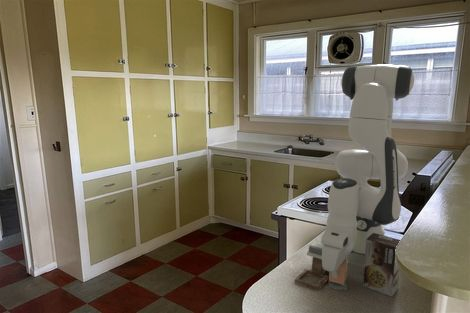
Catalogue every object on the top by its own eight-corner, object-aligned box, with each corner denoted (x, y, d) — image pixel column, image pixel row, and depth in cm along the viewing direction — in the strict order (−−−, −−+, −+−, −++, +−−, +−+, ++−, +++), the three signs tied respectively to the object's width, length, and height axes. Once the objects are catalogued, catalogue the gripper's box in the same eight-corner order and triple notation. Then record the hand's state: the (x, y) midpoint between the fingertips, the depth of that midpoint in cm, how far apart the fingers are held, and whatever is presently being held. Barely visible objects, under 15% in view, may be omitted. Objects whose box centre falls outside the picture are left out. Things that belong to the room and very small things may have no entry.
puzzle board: (316, 260, 123) (317, 245, 121) (337, 266, 118) (338, 251, 117) (294, 282, 108) (295, 265, 107) (318, 290, 104) (319, 273, 102)
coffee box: (398, 288, 105) (403, 240, 102) (391, 297, 100) (397, 247, 97) (369, 277, 111) (373, 231, 108) (361, 285, 106) (365, 238, 103)
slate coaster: (331, 278, 110) (331, 277, 110) (348, 284, 107) (348, 282, 107) (325, 286, 106) (325, 284, 106) (343, 292, 103) (343, 290, 103)
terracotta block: (346, 277, 107) (347, 260, 106) (343, 284, 103) (344, 266, 102) (332, 274, 109) (333, 257, 108) (328, 280, 105) (329, 263, 104)
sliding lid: (318, 244, 121) (318, 236, 120) (337, 249, 117) (338, 241, 116) (306, 255, 113) (307, 246, 112) (327, 261, 109) (327, 252, 108)
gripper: (341, 218, 113) (339, 256, 116) (318, 240, 97) (316, 283, 100) (361, 223, 110) (358, 262, 112) (340, 245, 93) (337, 290, 96)
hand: (338, 272), depth 106 cm, fingers closed on terracotta block, 5 cm apart
